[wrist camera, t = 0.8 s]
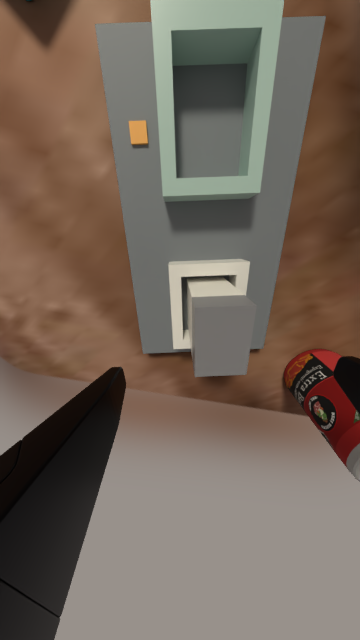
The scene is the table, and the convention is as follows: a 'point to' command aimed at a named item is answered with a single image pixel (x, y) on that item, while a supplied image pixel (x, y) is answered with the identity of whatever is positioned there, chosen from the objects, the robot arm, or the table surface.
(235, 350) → the plug
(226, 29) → the port
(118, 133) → the panel board
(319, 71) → the table surface
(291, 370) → the canned food
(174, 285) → the frame
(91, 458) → the robot arm
